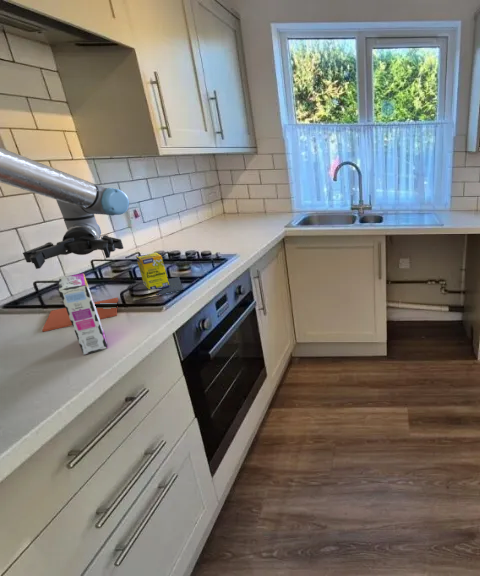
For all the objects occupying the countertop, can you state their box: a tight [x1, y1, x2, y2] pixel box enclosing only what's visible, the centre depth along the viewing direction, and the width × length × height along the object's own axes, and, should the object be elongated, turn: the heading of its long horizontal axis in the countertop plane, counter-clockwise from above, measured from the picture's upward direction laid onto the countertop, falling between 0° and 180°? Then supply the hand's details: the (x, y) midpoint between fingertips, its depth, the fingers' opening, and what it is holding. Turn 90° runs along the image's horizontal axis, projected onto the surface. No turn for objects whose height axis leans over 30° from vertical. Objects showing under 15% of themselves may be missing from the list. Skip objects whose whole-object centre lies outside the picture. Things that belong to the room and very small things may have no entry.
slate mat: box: [156, 276, 185, 295], centre depth 120 cm, size 14×14×1 cm
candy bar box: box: [58, 273, 109, 356], centre depth 85 cm, size 11×5×16 cm, turn 40°
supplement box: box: [135, 252, 170, 289], centre depth 118 cm, size 6×6×11 cm
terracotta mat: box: [41, 297, 119, 333], centre depth 103 cm, size 16×14×1 cm
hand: (72, 257), depth 88 cm, fingers open, 13 cm apart
